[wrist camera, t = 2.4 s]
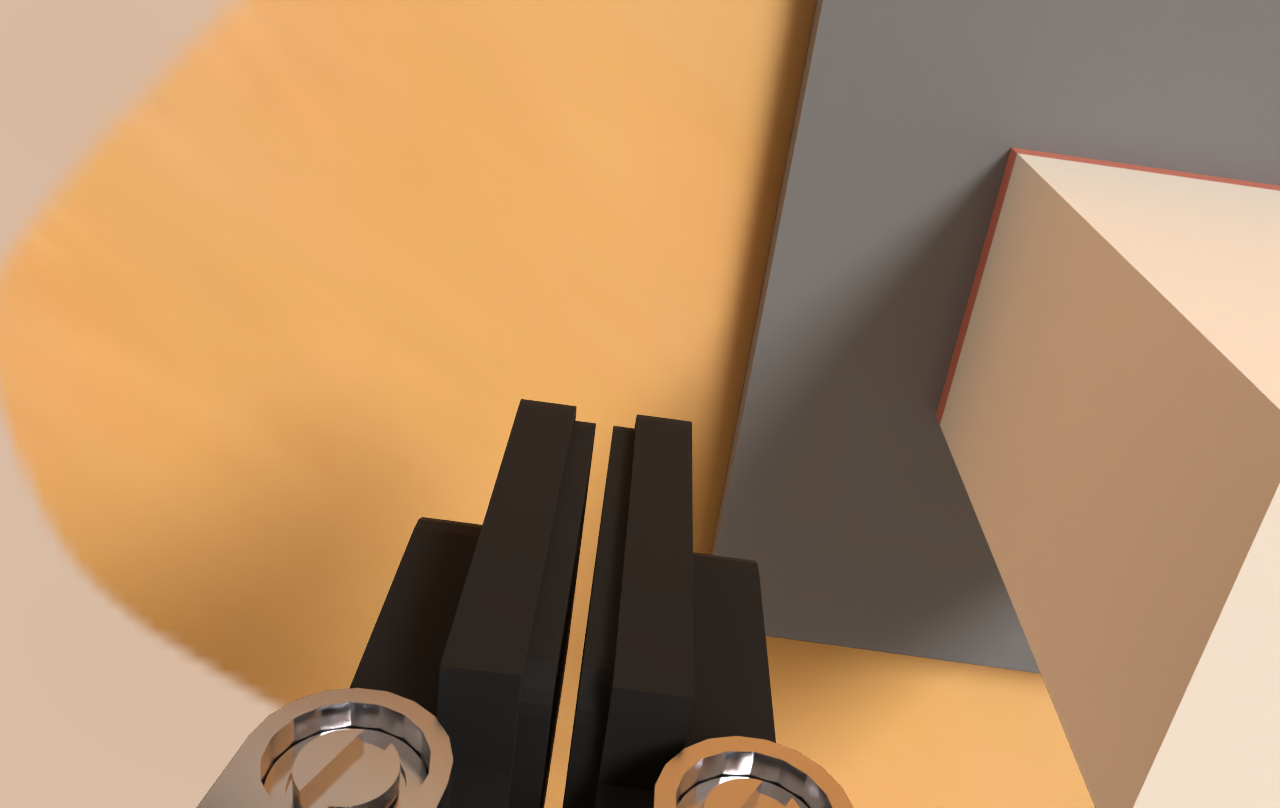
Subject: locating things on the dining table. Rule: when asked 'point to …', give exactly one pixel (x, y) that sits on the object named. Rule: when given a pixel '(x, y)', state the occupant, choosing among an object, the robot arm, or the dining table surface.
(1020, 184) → the cream block
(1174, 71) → the charcoal mat
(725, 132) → the dining table surface
